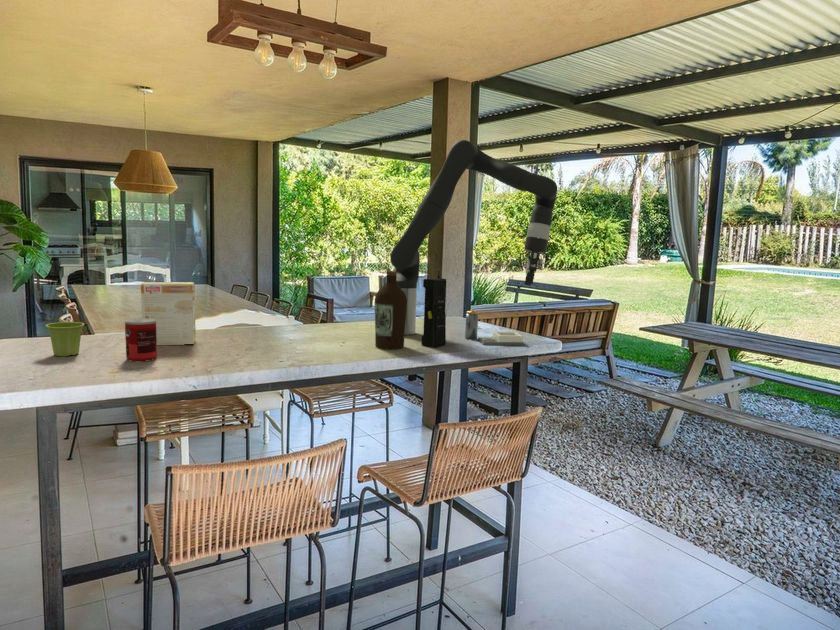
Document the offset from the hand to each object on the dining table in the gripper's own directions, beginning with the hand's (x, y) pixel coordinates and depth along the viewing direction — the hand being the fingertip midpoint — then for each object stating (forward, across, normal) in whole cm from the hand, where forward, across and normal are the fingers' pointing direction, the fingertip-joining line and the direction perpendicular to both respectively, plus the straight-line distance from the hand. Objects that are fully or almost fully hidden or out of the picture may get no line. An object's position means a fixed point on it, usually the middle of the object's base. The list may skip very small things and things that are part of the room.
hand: (528, 284), depth 202 cm
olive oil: (+30, +12, -41) cm, 52 cm away
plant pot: (+47, +49, -126) cm, 143 cm away
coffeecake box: (+41, +26, -109) cm, 119 cm away
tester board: (+22, -7, -6) cm, 23 cm away
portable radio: (+27, +6, -28) cm, 39 cm away
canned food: (+44, +49, -104) cm, 123 cm away
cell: (+22, -12, -16) cm, 30 cm away
